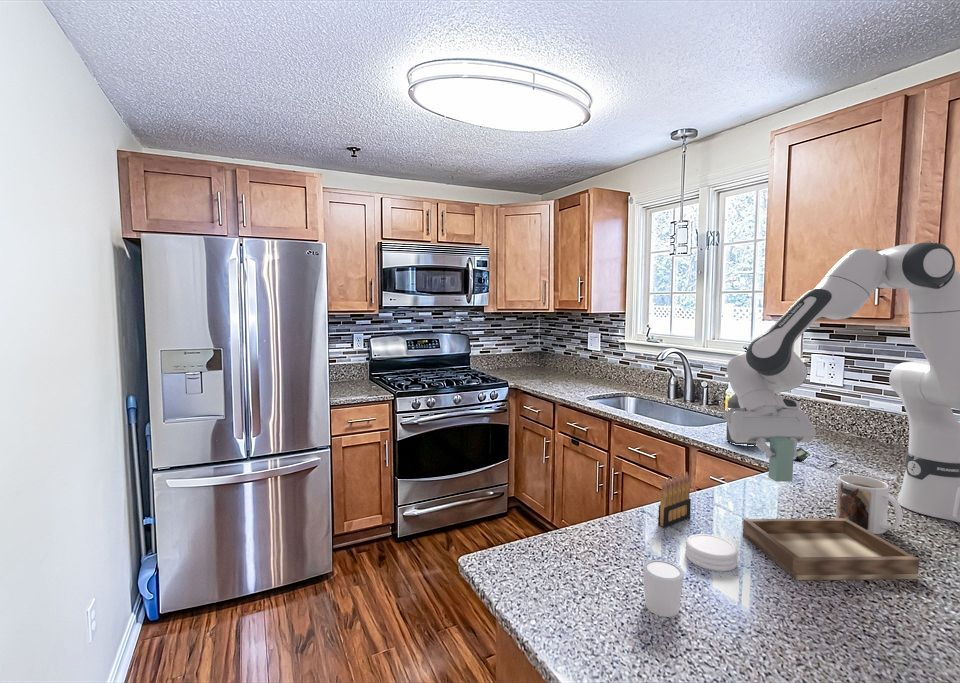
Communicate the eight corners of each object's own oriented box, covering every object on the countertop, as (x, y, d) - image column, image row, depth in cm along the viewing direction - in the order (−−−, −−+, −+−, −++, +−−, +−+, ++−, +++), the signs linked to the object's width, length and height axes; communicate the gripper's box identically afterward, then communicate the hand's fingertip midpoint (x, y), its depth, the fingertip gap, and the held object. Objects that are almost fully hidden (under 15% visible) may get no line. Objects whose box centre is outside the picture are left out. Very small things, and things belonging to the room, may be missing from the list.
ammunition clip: (664, 528, 116) (665, 480, 115) (657, 525, 118) (659, 477, 117) (690, 518, 122) (692, 472, 121) (684, 515, 123) (685, 469, 123)
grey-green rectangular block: (784, 477, 119) (786, 437, 118) (792, 481, 116) (794, 441, 115) (768, 477, 119) (770, 437, 118) (775, 481, 116) (777, 441, 115)
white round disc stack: (734, 578, 95) (735, 561, 95) (681, 563, 100) (681, 547, 100) (739, 556, 103) (740, 540, 103) (689, 544, 109) (690, 529, 108)
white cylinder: (635, 596, 89) (636, 559, 88) (671, 594, 89) (672, 558, 89) (651, 620, 82) (653, 581, 81) (690, 618, 82) (691, 579, 82)
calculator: (828, 469, 160) (829, 460, 160) (789, 460, 169) (789, 452, 169) (837, 463, 166) (837, 455, 166) (798, 455, 175) (799, 447, 175)
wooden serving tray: (844, 534, 113) (845, 518, 113) (917, 578, 95) (919, 559, 94) (742, 535, 112) (743, 519, 112) (796, 580, 94) (797, 560, 94)
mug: (878, 520, 121) (881, 477, 120) (902, 542, 109) (906, 494, 109) (829, 514, 124) (831, 472, 123) (847, 534, 113) (850, 489, 112)
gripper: (726, 401, 123) (746, 450, 114) (805, 401, 123) (831, 450, 114) (716, 415, 128) (735, 462, 119) (792, 414, 128) (817, 462, 119)
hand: (783, 456), depth 116 cm, fingers closed on grey-green rectangular block, 4 cm apart
